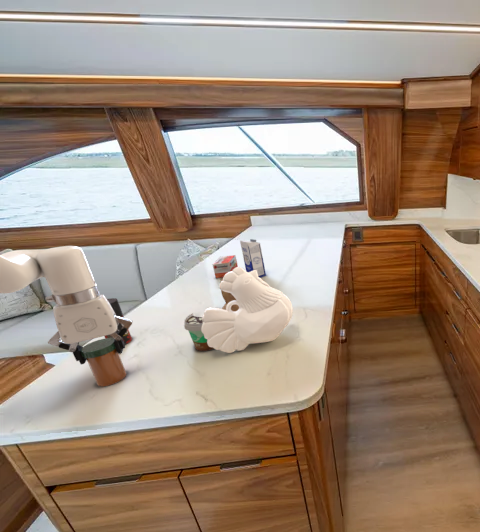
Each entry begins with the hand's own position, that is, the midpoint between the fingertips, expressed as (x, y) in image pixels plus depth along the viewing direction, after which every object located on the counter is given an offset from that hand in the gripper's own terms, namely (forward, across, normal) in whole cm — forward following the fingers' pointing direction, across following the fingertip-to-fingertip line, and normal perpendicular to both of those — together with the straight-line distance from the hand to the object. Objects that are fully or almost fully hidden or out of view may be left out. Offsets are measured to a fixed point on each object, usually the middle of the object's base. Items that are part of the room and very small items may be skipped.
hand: (102, 355), depth 80 cm
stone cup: (+8, +35, +24) cm, 43 cm away
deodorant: (+8, -1, +23) cm, 24 cm away
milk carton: (+8, +49, +63) cm, 80 cm away
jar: (+8, 0, 0) cm, 8 cm away
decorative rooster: (+8, +36, -4) cm, 37 cm away
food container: (+8, +22, +2) cm, 23 cm away
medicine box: (+8, +37, +79) cm, 88 cm away
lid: (-3, 0, 0) cm, 3 cm away
